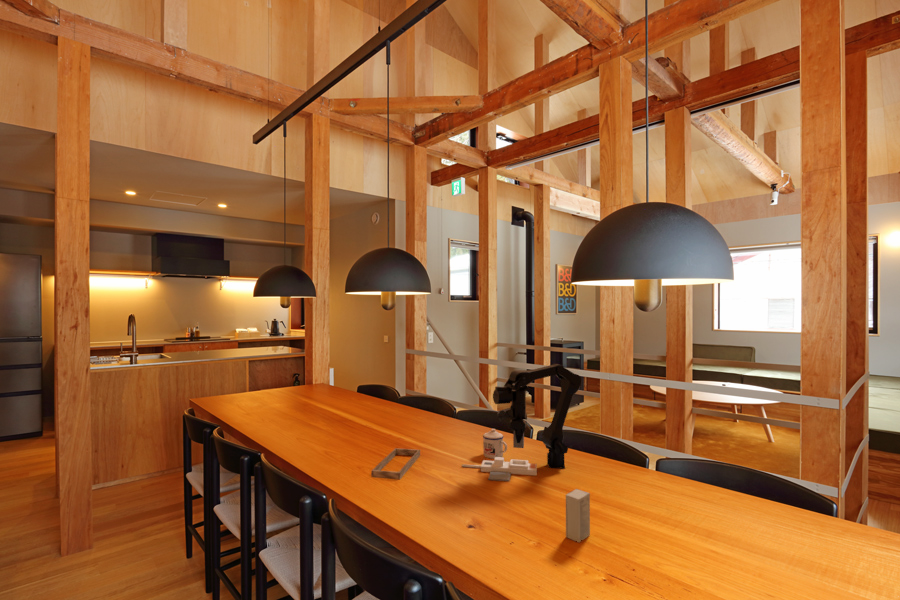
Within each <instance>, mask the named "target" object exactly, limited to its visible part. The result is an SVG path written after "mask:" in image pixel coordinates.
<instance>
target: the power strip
mask: <svg viewBox="0 0 900 600" xmlns="http://www.w3.org/2000/svg"><path fill="white" fill-rule="evenodd" d="M493 459H494V460H487V459H486V460H485V459H483V460H482V462H481V464H480V465H479V464H478V465H477V464H461V467H462V468H472V469H473V468H474V469H480V472H482V473H483V472H484V473H485V472H486V473H490V472H491V471H500V472H511V475H512V474H513V475H524V476H525V475H527V476H538V475H537V473H538V465H537V464H538V463H532V462H530V463H529V460H528V459H516V458H515V459H514V458H512V459H510V461H505V457H503V456H502V457H495V458H493Z"/></svg>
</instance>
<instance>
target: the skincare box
mask: <svg viewBox="0 0 900 600" xmlns="http://www.w3.org/2000/svg"><path fill="white" fill-rule="evenodd" d="M590 495H591V493H590V492H588V491H585V490H582V489H578V488H575V489H573V490H572V491H569V492H568V493H567V494H565V538H568V539H569V540H571V541H574V542H576V541H577V543H581V542H582V541H583V540H585V539H587V538H588V537H589V536H591V518H590V516H591V513H590V512H591V509H590V508H591V504H590V503H591V501H590ZM581 540H582V541H581Z"/></svg>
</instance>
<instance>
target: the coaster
mask: <svg viewBox="0 0 900 600" xmlns="http://www.w3.org/2000/svg"><path fill="white" fill-rule="evenodd" d="M511 475H512V474H511V472H500V471H491V472H489V475H488V477H487V478H488V480H489V481H497V482H498V481H499V482H510V481H511Z"/></svg>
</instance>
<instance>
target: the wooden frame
mask: <svg viewBox="0 0 900 600" xmlns="http://www.w3.org/2000/svg"><path fill="white" fill-rule="evenodd" d="M397 455H398V456H411V457H410V459H408V461H407V462H406V463H405V464H404V465H403V467H402V468H401V469H400V470H399V471H391V470H383V468H385V467H386V466H387V465H388V463H390V462H391V460H393V459H394V458H395V456H397ZM420 456H421V449H412V448H396V447H395V448H394V449H393V450H392V451H391V452H390V453H389V454H387V456H385V457H384V458H383V459H382V460H381V461H380V462H379V463H378V464H377V465H376V466H375V467H374V468H373V469H372V470H371V471H370V472H371V478H377V479H390V480H391V479H392V480H401V479H402V478H403V477H404V475H405V474H406V473H407V472H408V471H409V469H410V468H411V467H412V465H414V463H416V461H417V460H418V459H419V458H420Z"/></svg>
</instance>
